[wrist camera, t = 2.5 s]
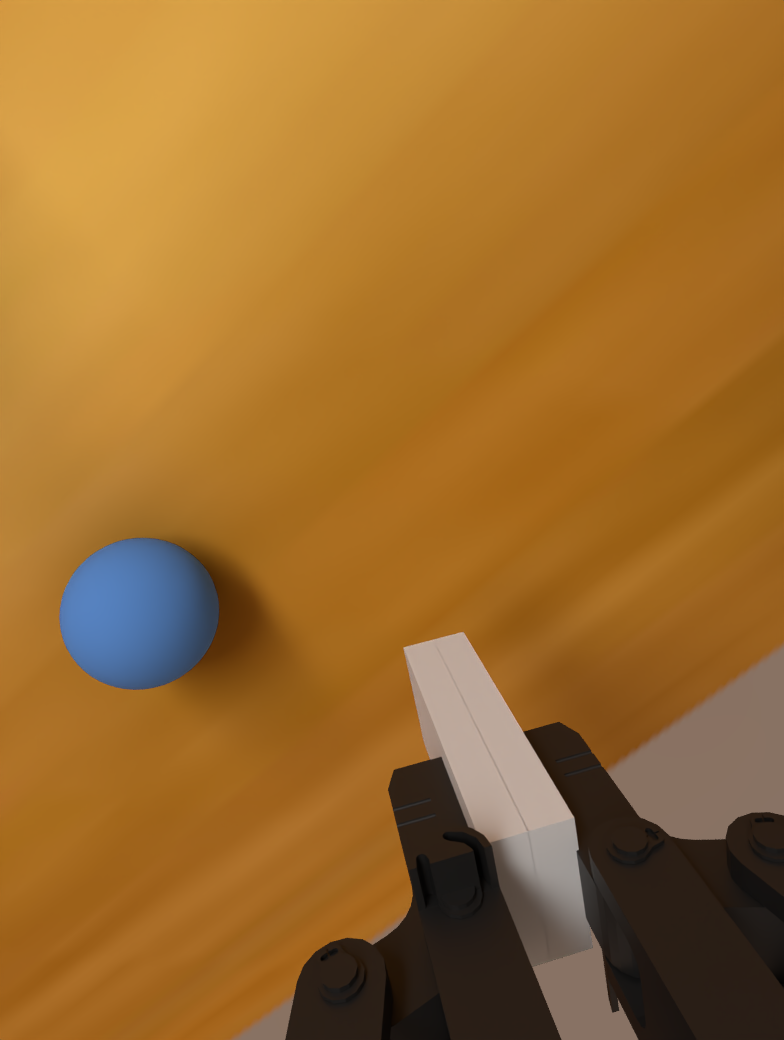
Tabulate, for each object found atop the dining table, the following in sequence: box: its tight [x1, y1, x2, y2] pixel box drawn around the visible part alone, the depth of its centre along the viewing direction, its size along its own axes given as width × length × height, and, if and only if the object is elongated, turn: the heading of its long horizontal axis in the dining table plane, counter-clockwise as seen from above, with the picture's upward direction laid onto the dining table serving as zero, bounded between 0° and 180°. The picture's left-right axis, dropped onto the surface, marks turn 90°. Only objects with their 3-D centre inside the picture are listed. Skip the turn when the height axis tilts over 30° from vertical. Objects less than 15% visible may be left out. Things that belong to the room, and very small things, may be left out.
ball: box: [60, 538, 219, 690], centre depth 26 cm, size 6×6×6 cm
